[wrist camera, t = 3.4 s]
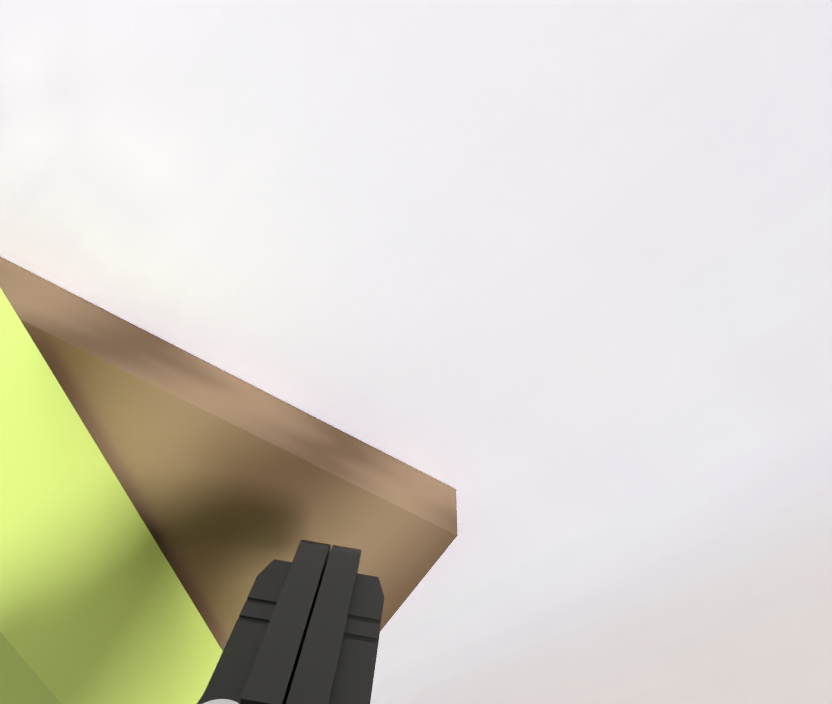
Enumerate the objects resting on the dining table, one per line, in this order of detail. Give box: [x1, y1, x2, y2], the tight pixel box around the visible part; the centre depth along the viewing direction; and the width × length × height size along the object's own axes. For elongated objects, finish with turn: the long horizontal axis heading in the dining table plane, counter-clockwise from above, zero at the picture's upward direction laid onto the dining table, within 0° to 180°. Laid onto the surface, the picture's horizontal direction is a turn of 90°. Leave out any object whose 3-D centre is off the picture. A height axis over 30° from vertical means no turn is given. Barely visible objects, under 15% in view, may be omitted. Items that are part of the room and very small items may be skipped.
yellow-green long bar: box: [0, 288, 223, 704], centre depth 12 cm, size 20×4×4 cm, turn 15°
